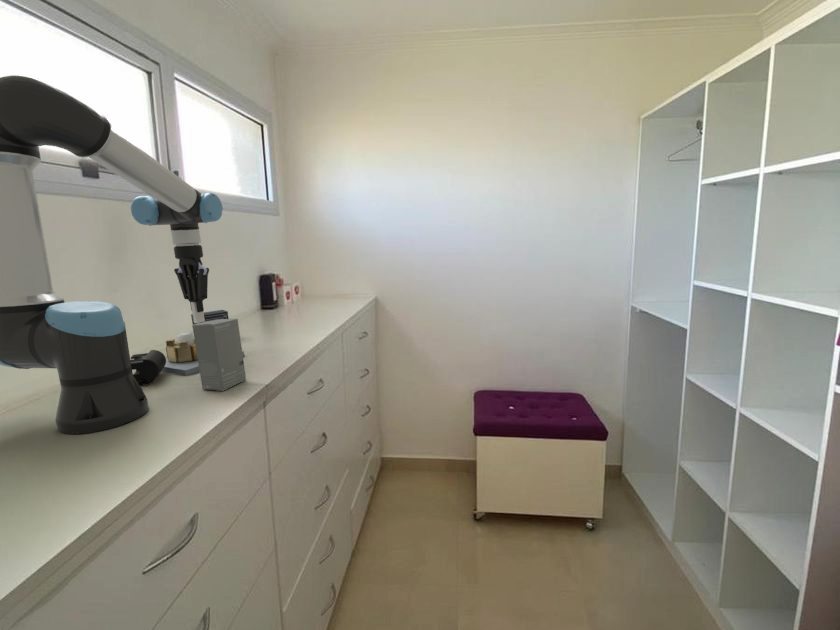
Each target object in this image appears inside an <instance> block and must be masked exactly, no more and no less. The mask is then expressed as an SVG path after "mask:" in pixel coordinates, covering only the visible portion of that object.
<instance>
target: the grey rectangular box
mask: <svg viewBox="0 0 840 630" xmlns="http://www.w3.org/2000/svg"><path fill="white" fill-rule="evenodd" d="M238 319H239V318H229V319H217V320H212V321H206V322H202V323H198V324H192V325H191V326H192V331H193V332H192V333H193V336H194V339H195V345H196V351H197V358H198V364H199V377H200V382H201V388H202V390H211V391H219V392H220V391H221V392H224V390H225V391H227V390H228V388H229V389H230V387H231V388H233V387H235V386H237V385H238V383H239V384H241V383H242V382H245V381H246V380H247V377H246V370H245V362H244V356H243V354H242V351H243V348H242V342H241V341H242V340H241V334H240V333H241V332H240V327H239V320H238ZM240 382H241V383H240ZM236 384H237V385H236ZM234 385H235V386H234ZM232 386H233V387H232Z"/></svg>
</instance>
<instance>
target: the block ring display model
mask: <svg viewBox="0 0 840 630" xmlns="http://www.w3.org/2000/svg"><path fill="white" fill-rule="evenodd" d="M180 341H188V345H192V344H195V343H194V333H193V332H182V333H179V334H177V342H178V343H179V342H180ZM242 354H243V357H245V351H243V350H242ZM165 358H166V364H165V366H164V368H163V369H162V371H161V372H160V373H167V374H173V375H179V376H187V377H188V376H190V375H193V374H196V373H200V371H199V364H198V359H197V360H192V361H184V362H171V361H168V358H167V356H165Z"/></svg>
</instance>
